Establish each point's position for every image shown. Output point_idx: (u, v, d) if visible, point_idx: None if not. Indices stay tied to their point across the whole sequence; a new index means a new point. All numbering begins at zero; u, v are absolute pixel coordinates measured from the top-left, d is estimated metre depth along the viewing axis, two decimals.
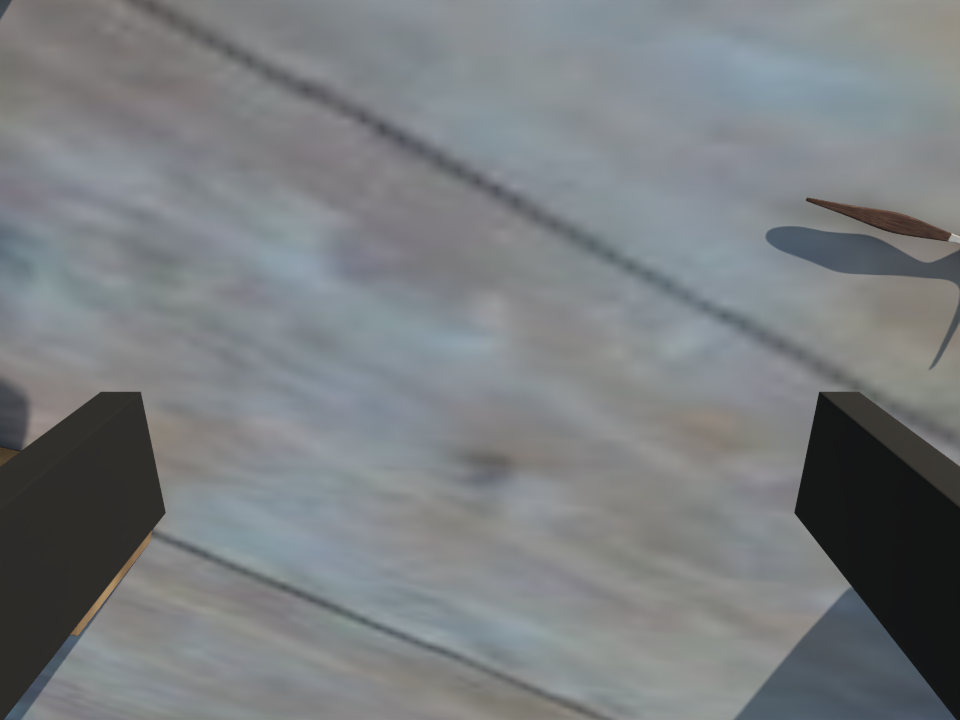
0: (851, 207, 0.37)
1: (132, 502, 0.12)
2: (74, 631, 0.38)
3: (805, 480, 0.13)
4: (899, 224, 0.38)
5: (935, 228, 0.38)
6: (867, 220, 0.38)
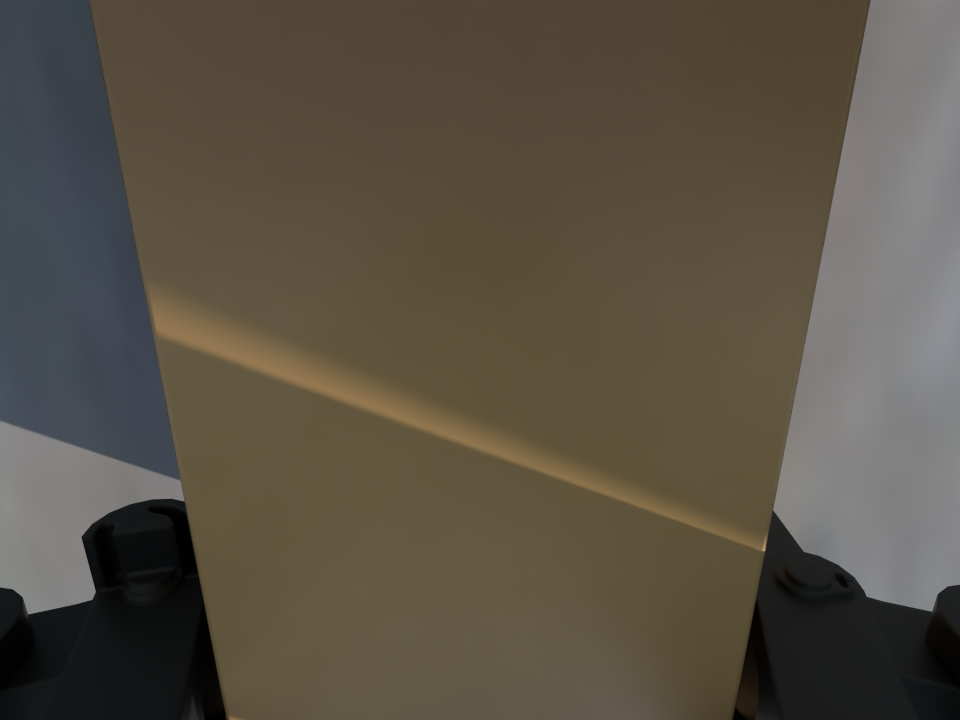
0: None
1: None
2: None
3: None
4: None
5: None
6: None
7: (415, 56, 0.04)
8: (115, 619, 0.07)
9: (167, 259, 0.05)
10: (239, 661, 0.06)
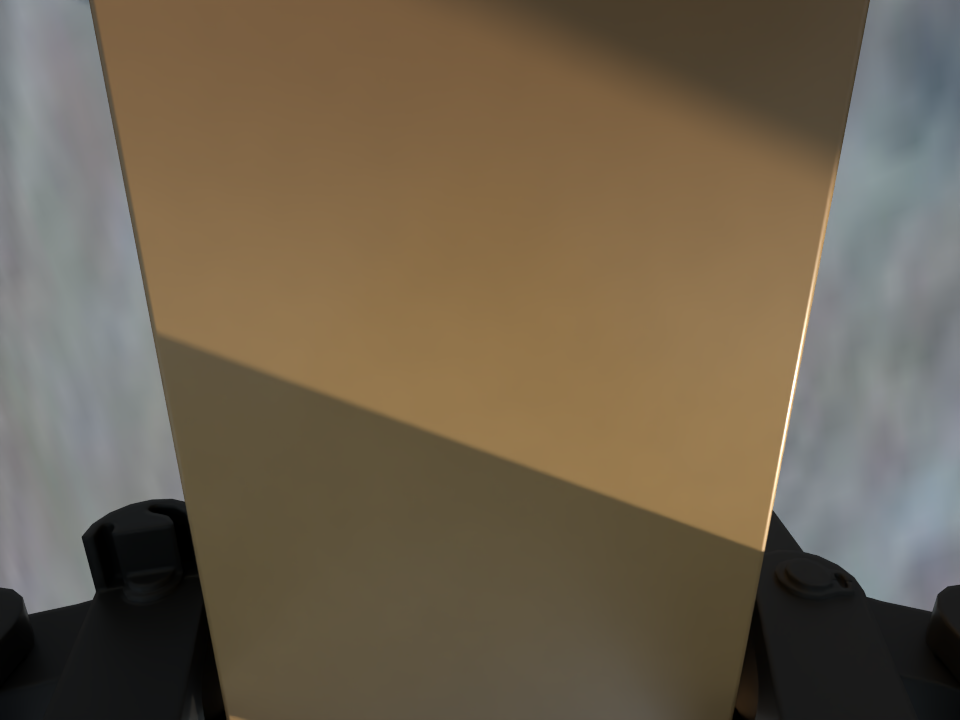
0: None
1: None
2: None
3: None
4: None
5: None
6: None
7: (415, 53, 0.04)
8: (115, 619, 0.07)
9: (167, 257, 0.05)
10: (239, 659, 0.06)
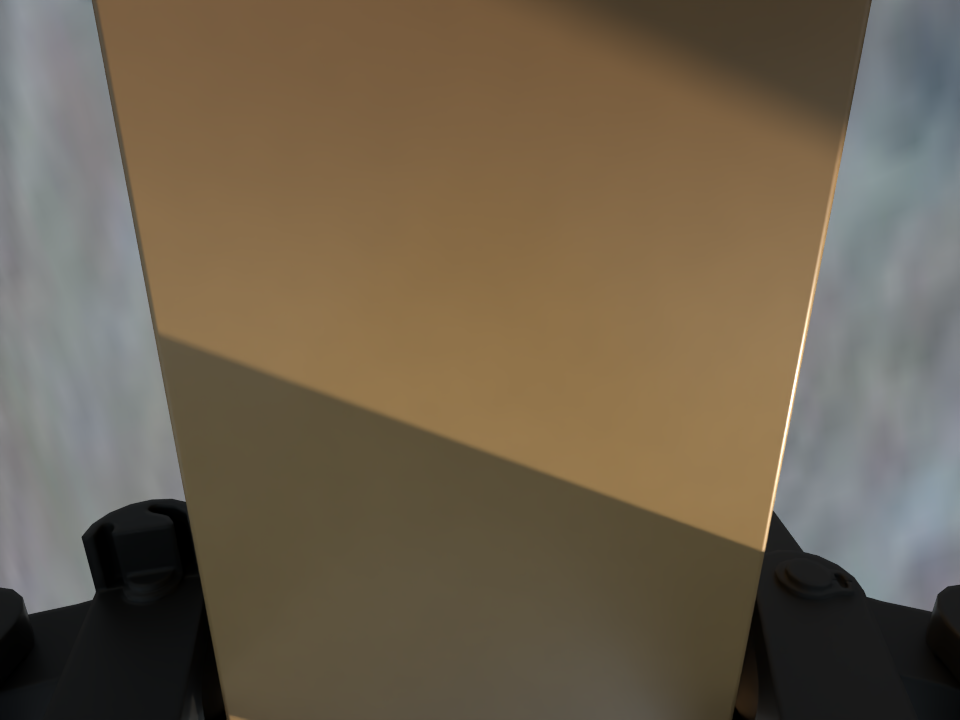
0: None
1: None
2: None
3: None
4: None
5: None
6: None
7: (418, 51, 0.04)
8: (115, 619, 0.07)
9: (168, 255, 0.05)
10: (239, 658, 0.06)
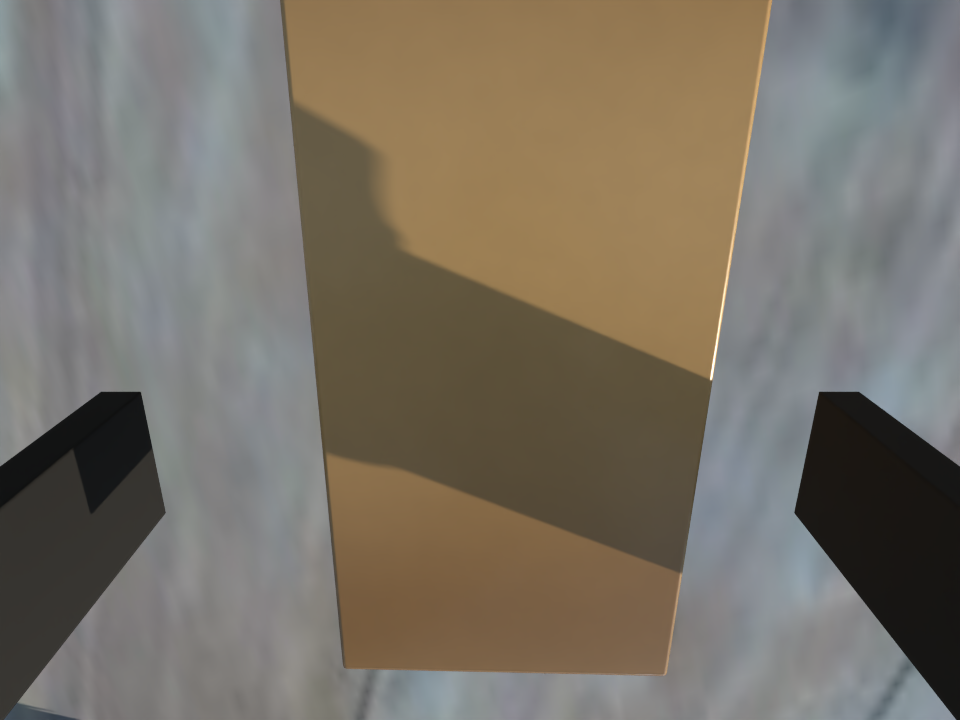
0: None
1: (132, 502, 0.12)
2: (363, 660, 0.10)
3: (805, 480, 0.13)
4: None
5: None
6: None
7: None
8: None
9: None
10: (329, 320, 0.08)
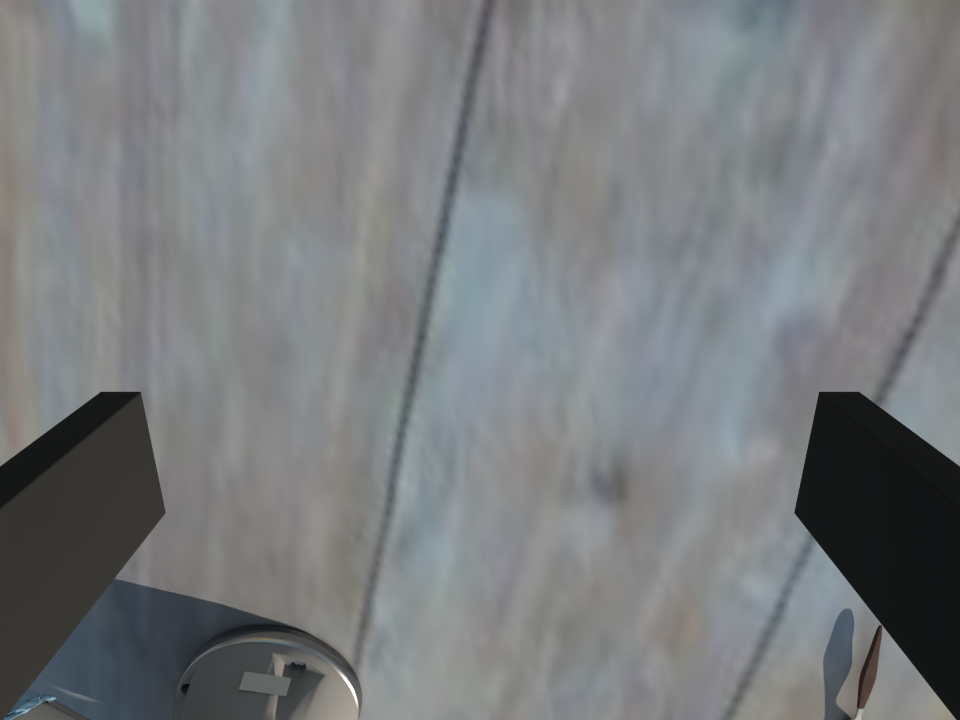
0: (878, 652, 0.53)
1: (132, 502, 0.12)
2: None
3: (805, 480, 0.13)
4: (869, 681, 0.54)
5: (867, 699, 0.55)
6: (869, 663, 0.54)
7: None
8: None
9: None
10: None
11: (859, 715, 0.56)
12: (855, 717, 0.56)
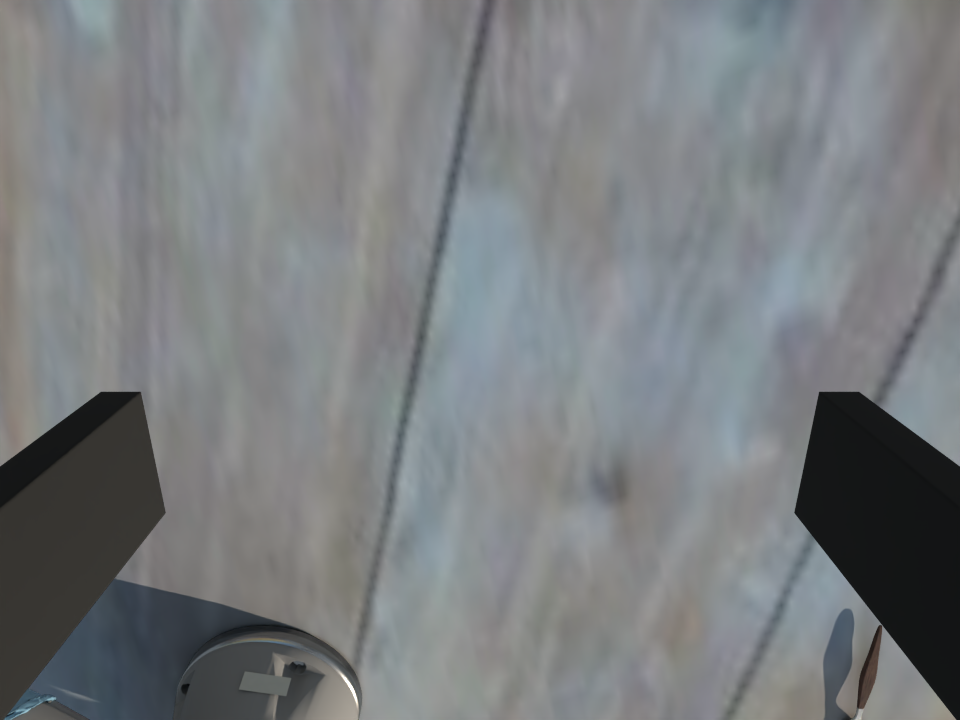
0: (878, 652, 0.53)
1: (132, 502, 0.12)
2: None
3: (805, 480, 0.13)
4: (869, 681, 0.54)
5: (867, 699, 0.55)
6: (869, 663, 0.54)
7: None
8: None
9: None
10: None
11: (859, 715, 0.56)
12: (855, 717, 0.56)
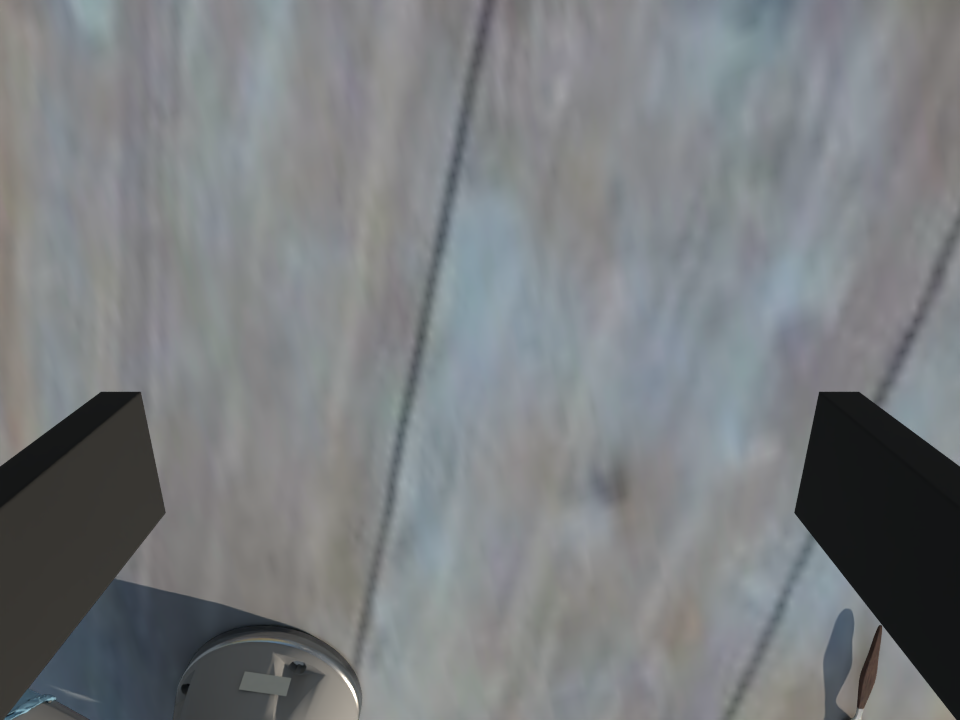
0: (878, 652, 0.53)
1: (132, 502, 0.12)
2: None
3: (805, 480, 0.13)
4: (869, 681, 0.54)
5: (867, 699, 0.55)
6: (869, 663, 0.54)
7: None
8: None
9: None
10: None
11: (859, 715, 0.56)
12: (855, 717, 0.56)
